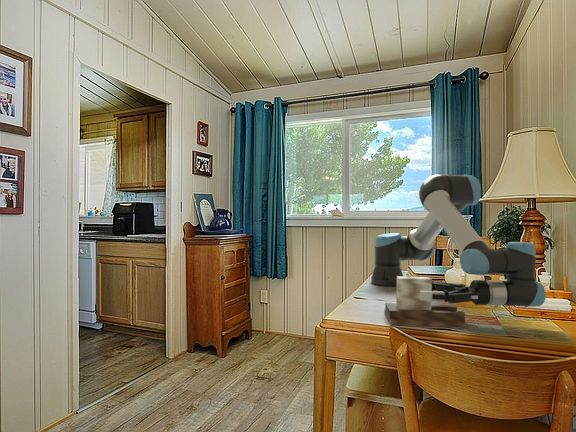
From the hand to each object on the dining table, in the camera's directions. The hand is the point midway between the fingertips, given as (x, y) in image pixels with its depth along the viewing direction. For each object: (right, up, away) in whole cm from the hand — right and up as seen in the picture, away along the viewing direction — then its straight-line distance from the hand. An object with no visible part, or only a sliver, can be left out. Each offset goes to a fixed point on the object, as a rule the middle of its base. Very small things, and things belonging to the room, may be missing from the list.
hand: (415, 290), depth 117 cm
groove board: (+3, -9, 0) cm, 10 cm away
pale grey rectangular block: (0, -8, 0) cm, 8 cm away
